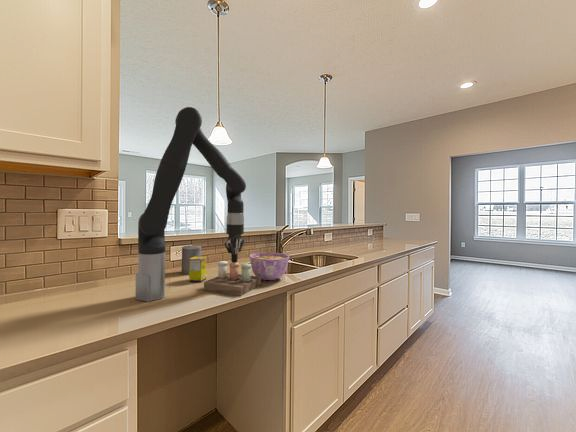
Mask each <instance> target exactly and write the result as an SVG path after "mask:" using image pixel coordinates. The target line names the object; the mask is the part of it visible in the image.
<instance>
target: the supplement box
mask: <svg viewBox="0 0 576 432" xmlns="http://www.w3.org/2000/svg"><path fill="white" fill-rule="evenodd" d="M188 278H189V279H188V280H189V282H190V283H191V282H194V283H195V282H196V283H202V282H205V281H206V279H207V256H201V257H193V258H190V260H189V277H188Z"/></svg>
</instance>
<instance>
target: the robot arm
mask: <svg viewBox="0 0 576 432" xmlns="http://www.w3.org/2000/svg"><path fill="white" fill-rule="evenodd" d="M174 124H175V127H174V130H173V131H174V132H173V135H172V137H171V140H170V142H169V143H168V145H167V147H166V148H165V150H164V153H163V155H162V157H161V159H160V161H159V164H158V167H157V170H156V173H155V177H154V182H153V187H152V192H151V197H150V199H149V201H148V204H147V206H146V208H145V210H144V212H143V213H142V214H141V215H140V216H139V218H138V223H137V224H138V227H137V228H138V230H137V231H138V232H137V234H138V237H137V242H138V243H137V246H138V247H137V248H138V249H137V250H138V253H137V254H138V255H137V256H138V257H137V258H138V261H137V263H138V265H137V273H136V274H135V300H137V301H143V302H147V303H148V302H151V301H156V300H159V299H160V300H161V299H163V298H164V297H165V293H166V292H165V291H166V289H165V288H166V286H165V285H166V241H165V239H166V238H165V237H166V236H165V232H166V231H165V230H166V227H167V223H168V219H169V215H170V211H171V207H172V204H173V200H175V199H174V198H175V196H176V195H177V192H178V190H179V187H180V185H181V183H182V181H183V178H184V174H185V172H186V168H187V165H188V161H189V159H190V158H189V157H190V154H191V150H192V145H193V146H194V147H195V148H196V149H197V151H198V152H199V153H200V154H201V156H203V158H204V159H205V161H206V162H207V163H208V164H209V165H210V167H211V168H212V170H213V171H214V173H215V174H216V175H217V176H218V177H219V178H221V179H223V181H225V183H226V185H225V194H226V201H227V206H226V207H227V212H226V225H225V226H226V229H225V230H226V231H225V233H226V235H228V237H227V242H225V243H224V246H225V248H226V251H227V252H228V254H230V255H231V258H230V259H231V260H230V263H236V262H237V263H238V261H239V260H238V257H239V256H238V254H239V253H240V252H241V251H242V248H243V246H244V243H245V240H243V239H242V235H244V233H245V231H244V230H245V227H244V226H245V216H244V208H245V207H244V206H245V205H244V201H243V199H242V193H244V192H245V190H246V189H247V184H246V181H245V180H244V178H243V177H242V176H241V174H240V173H239V172H237V170H236V169H235V168H233V166H232V165H231V163H230V162H229V160H227V158H226V157H225V155H224V154H223V153H222V152H221V151H220V150H219V149H218V148H217V147H216V146H215V145H214V144H213V143H212V142H211V141H210V140H209V139H208V138H207V136H206V135H205V133H204V132H203V130H202V128H201V127H202V124H203V118H202V115H201V113H200V112H199V110H197V109H196V108H195V107H191V106H187V107H184V108H182V109H180V110H179V111H178V112H177V115H176V117H175V123H174Z"/></svg>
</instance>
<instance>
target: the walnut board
mask: <svg viewBox="0 0 576 432" xmlns="http://www.w3.org/2000/svg"><path fill="white" fill-rule="evenodd" d="M241 280H242V273H238V280H230V272H227V278H224V279H220V278H218V276H216V277H213V278H210V279H208V280H204V281H203V291H208V292H214V293H221V294H225V295H226V294H227V295H231V296H232V295H233V296H239V297H242V296H244V295H245V294H247V293H249V292H250V291H252V290H254V289H255V288H258V287H260V286H261V285H262V279H261V277H257V276H256V275H250V281H249V282H242V281H241ZM257 286H258V287H257Z"/></svg>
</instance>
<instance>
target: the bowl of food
mask: <svg viewBox="0 0 576 432" xmlns="http://www.w3.org/2000/svg"><path fill="white" fill-rule="evenodd" d="M249 260H250V264H251V270H252V273H253V275H254V276H257V277H261V281H265V280H274V281H276V280H275V279H277V280H278V279H279V278H282V277H283V276H284V275H285V273H286V271H287V268H288V264H289V261H290V255H288V254H286V253H280V252H255V253H251V254H250V255H249Z"/></svg>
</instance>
